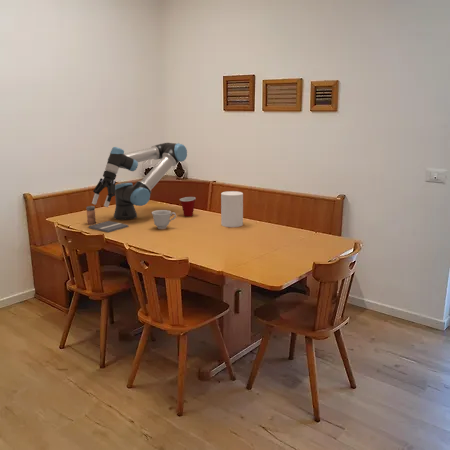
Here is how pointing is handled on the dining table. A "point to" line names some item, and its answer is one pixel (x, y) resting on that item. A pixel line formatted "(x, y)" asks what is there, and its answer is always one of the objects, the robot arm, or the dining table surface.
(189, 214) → the plastic cup
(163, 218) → the teacup
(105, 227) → the board
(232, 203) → the canister
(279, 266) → the dining table surface
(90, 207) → the spice shaker
